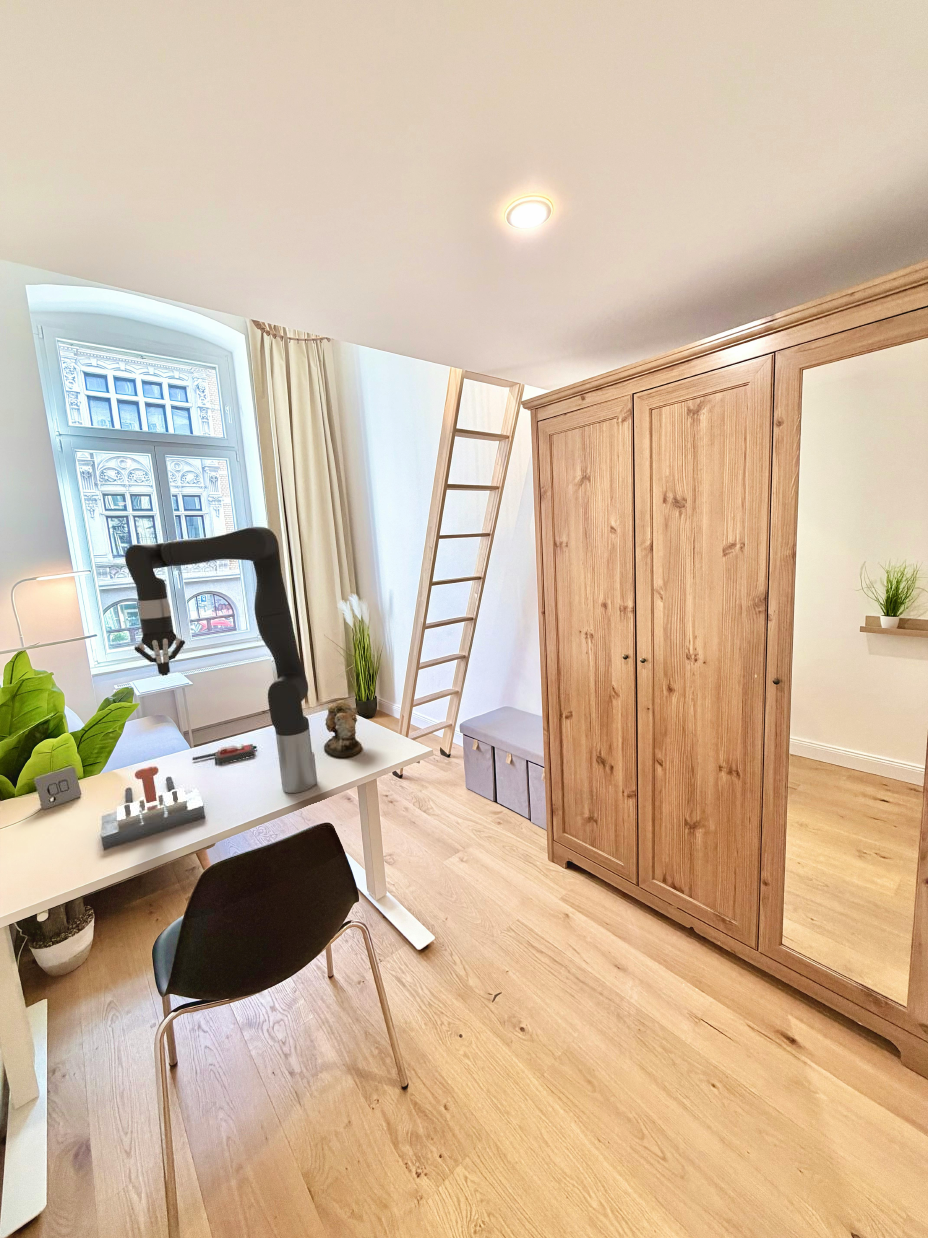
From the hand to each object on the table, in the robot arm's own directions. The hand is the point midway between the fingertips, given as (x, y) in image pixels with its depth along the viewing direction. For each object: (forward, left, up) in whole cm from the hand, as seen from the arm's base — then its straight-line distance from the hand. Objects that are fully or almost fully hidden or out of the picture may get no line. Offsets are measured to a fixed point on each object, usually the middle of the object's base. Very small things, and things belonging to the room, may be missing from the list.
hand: (164, 674), depth 144 cm
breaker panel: (+8, +17, -35) cm, 40 cm away
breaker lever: (+8, +17, -28) cm, 34 cm away
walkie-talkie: (-14, -15, -36) cm, 41 cm away
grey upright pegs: (+8, +1, -35) cm, 36 cm away
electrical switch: (+30, -16, -35) cm, 49 cm away
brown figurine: (-48, +5, -35) cm, 60 cm away
